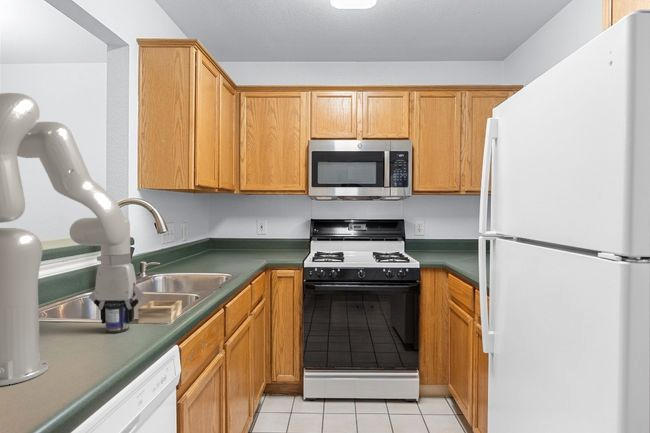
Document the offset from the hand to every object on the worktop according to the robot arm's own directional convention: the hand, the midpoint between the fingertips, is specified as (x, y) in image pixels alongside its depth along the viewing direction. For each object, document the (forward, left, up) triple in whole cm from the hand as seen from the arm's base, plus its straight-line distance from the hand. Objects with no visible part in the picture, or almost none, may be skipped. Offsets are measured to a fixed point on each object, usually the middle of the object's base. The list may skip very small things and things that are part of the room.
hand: (117, 321), depth 119 cm
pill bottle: (0, 0, -3) cm, 3 cm away
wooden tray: (+12, -8, -3) cm, 15 cm away
